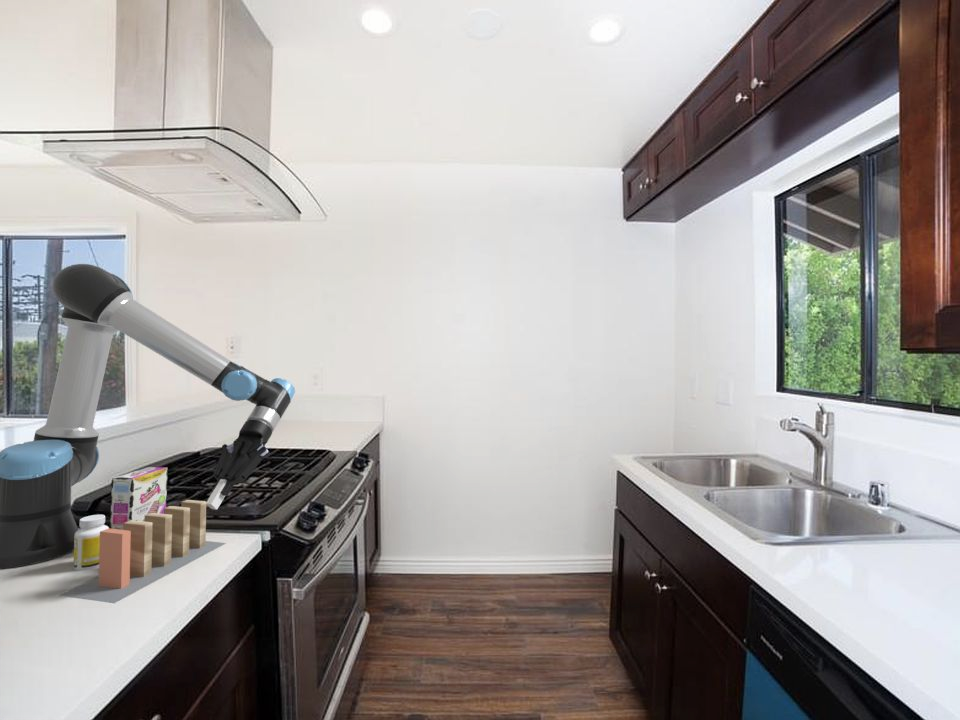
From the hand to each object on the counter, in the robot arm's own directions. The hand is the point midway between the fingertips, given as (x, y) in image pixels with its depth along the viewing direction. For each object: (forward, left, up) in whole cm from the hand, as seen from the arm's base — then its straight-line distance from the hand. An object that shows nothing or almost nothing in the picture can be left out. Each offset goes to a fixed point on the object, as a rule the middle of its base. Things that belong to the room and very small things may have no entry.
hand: (211, 506), depth 106 cm
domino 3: (-5, -13, -7) cm, 16 cm away
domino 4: (-3, -9, -7) cm, 12 cm away
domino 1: (-8, -22, -7) cm, 24 cm away
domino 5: (-2, -5, -7) cm, 9 cm away
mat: (-5, -14, -8) cm, 17 cm away
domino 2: (-6, -18, -7) cm, 20 cm away
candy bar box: (-15, -1, -8) cm, 17 cm away
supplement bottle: (-18, -12, -8) cm, 23 cm away
